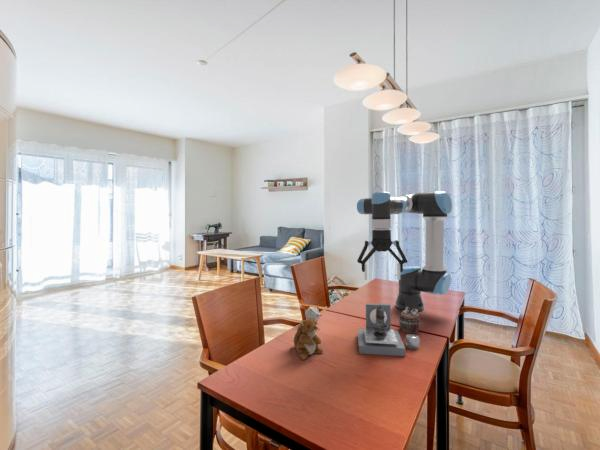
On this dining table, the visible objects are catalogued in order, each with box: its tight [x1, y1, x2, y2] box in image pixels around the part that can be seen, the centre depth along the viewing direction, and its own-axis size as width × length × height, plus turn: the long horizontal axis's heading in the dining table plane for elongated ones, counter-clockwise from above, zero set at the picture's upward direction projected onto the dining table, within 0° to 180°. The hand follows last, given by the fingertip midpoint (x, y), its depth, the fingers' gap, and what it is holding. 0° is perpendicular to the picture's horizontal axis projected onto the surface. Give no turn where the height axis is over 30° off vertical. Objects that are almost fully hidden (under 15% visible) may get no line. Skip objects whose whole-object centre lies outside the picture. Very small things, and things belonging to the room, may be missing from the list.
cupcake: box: [398, 307, 422, 334], centre depth 134 cm, size 10×10×10 cm
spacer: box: [405, 333, 420, 350], centre depth 118 cm, size 5×5×4 cm
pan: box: [363, 327, 398, 344], centre depth 117 cm, size 12×12×2 cm
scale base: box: [357, 302, 406, 357], centre depth 118 cm, size 17×16×15 cm
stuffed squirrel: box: [293, 318, 324, 360], centre depth 115 cm, size 10×14×13 cm
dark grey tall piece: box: [373, 305, 388, 337], centre depth 117 cm, size 6×6×12 cm
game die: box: [302, 305, 323, 325], centre depth 144 cm, size 9×8×10 cm
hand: (382, 279), depth 123 cm, fingers open, 13 cm apart
